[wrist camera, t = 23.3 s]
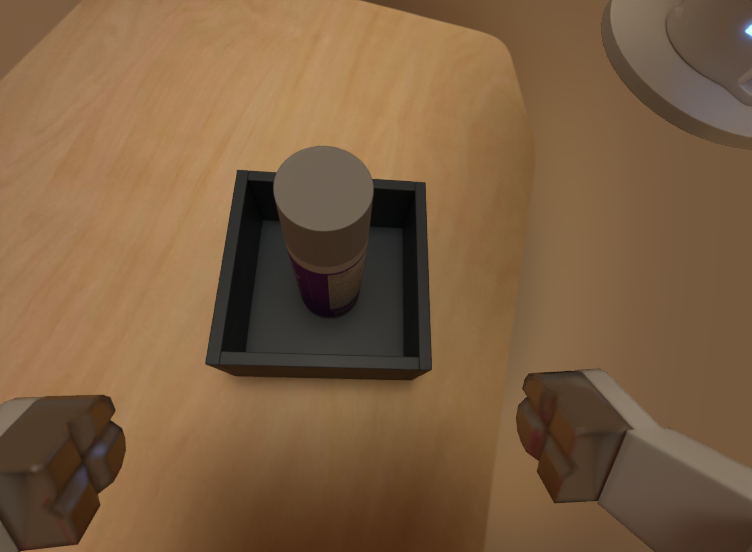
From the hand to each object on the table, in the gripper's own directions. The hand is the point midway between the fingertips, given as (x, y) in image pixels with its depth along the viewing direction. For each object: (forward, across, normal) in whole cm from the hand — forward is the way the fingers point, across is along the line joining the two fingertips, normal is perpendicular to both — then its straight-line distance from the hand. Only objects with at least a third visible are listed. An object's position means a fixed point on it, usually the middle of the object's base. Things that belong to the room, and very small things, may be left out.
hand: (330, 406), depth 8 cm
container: (+22, 0, +9) cm, 24 cm away
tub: (+23, 0, +9) cm, 24 cm away
